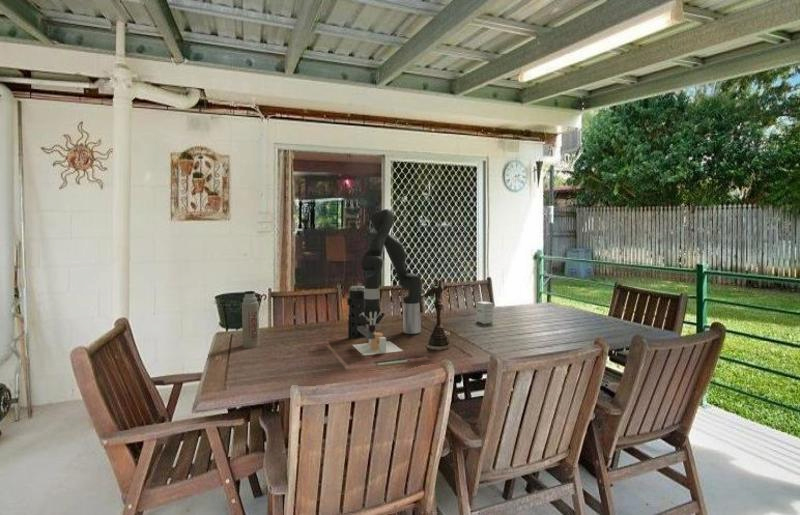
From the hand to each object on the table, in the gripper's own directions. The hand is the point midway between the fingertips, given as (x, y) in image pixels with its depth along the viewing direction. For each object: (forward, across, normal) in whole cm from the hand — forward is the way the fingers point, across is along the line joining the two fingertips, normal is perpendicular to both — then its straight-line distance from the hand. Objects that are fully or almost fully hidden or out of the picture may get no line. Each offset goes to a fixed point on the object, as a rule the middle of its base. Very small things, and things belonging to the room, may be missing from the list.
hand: (371, 332), depth 224 cm
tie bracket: (+10, -3, 0) cm, 10 cm away
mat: (+10, -3, +17) cm, 19 cm away
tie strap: (+1, +3, 0) cm, 3 cm away
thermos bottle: (+10, +54, -32) cm, 64 cm away
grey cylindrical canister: (+10, -86, -35) cm, 93 cm away
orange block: (+8, -3, +1) cm, 8 cm away
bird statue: (+10, -33, +2) cm, 34 cm away
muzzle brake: (+10, -1, -28) cm, 30 cm away
